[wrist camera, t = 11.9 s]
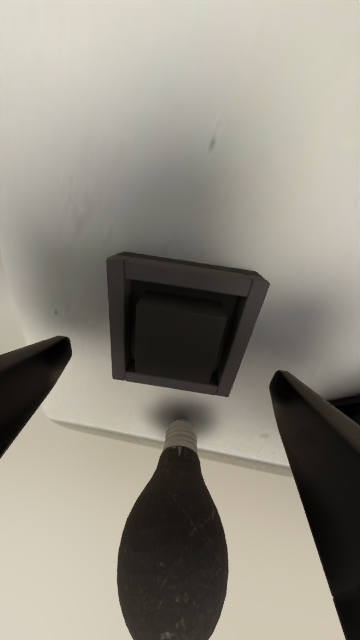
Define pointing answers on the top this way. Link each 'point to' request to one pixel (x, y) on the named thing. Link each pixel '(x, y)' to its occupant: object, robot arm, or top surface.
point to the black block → (178, 336)
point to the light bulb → (173, 549)
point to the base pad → (192, 281)
